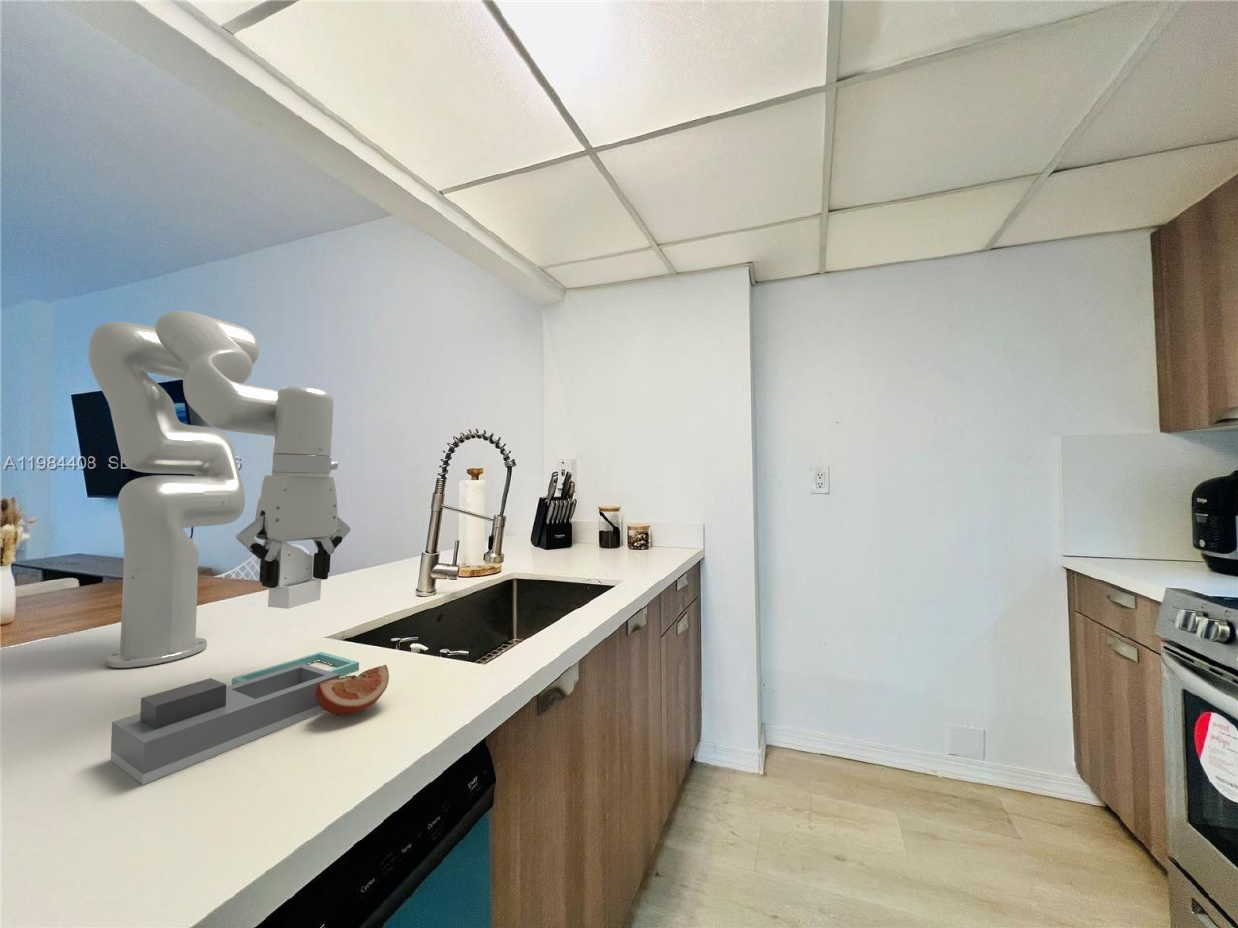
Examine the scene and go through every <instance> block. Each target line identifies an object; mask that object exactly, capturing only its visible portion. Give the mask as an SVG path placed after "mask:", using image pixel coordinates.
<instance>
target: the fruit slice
mask: <svg viewBox="0 0 1238 928" xmlns="http://www.w3.org/2000/svg"><path fill="white" fill-rule="evenodd" d="M389 677H390V675H389V668H388V667H387V664H383V665H379V666H376V667H373V668H369V669H367V670H364V671H362V672H361V673H360V674H358V675H357V676H356V675H355V674H353V675H344V676H340V677H339V679H333V680H329V681H325V682H323V683H320V684H319V685H318V687H317V689H316V698H317V701H318V703H319V705H320V706H321V707H322V708H323V709H324V710H325V711H324V712H326V713H328V714H331V715H333V716H339V717H341V716H342V717H343V716H345V717H346V716H351V715H355V714H357V713H361V712H362V711H366V709H368V708H370V707H372V706H374V704H375V703H377V702H378V700H379V699H380V698H381V697H382V695H383V694H384V693H385V691H386V690H387V687H388V684H389V679H390V678H389Z"/></svg>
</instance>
